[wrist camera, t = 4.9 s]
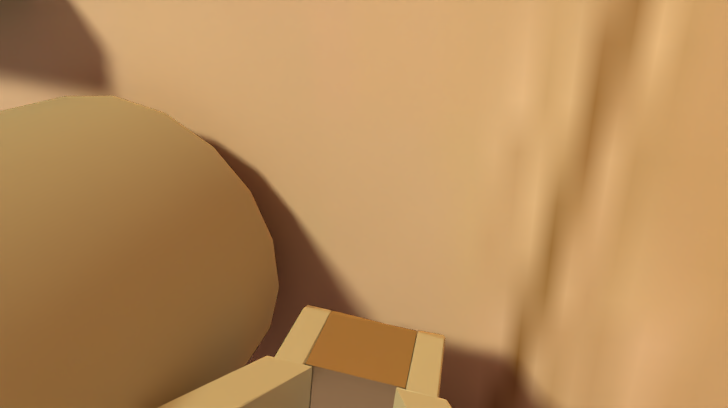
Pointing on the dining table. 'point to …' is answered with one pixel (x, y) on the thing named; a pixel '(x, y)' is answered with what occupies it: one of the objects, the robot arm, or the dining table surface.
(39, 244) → the can
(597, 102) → the dining table surface
